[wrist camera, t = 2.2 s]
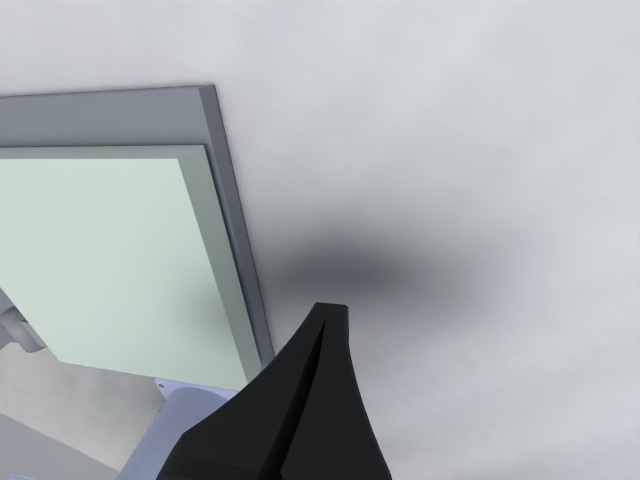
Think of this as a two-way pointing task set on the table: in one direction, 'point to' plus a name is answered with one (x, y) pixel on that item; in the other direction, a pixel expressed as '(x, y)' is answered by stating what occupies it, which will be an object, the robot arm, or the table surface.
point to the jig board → (142, 130)
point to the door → (123, 263)
